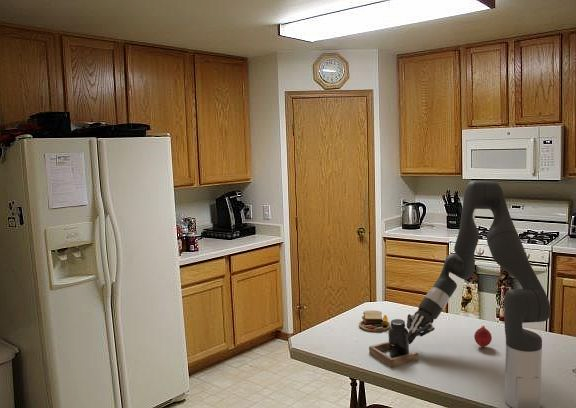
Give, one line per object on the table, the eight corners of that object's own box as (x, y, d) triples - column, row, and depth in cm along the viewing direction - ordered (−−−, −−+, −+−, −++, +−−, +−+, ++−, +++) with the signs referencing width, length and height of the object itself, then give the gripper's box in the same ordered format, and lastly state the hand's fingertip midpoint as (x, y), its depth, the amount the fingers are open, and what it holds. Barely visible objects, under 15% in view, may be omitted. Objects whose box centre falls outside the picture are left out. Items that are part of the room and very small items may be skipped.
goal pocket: (394, 346, 191) (394, 340, 191) (417, 359, 179) (417, 352, 179) (369, 353, 186) (369, 346, 186) (391, 367, 175) (391, 359, 174)
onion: (492, 351, 184) (493, 329, 183) (475, 350, 185) (475, 328, 184) (490, 344, 189) (490, 323, 188) (473, 343, 191) (473, 322, 190)
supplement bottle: (386, 356, 183) (384, 324, 181) (393, 348, 189) (390, 316, 187) (406, 359, 179) (404, 326, 178) (411, 351, 185) (409, 318, 183)
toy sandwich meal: (358, 332, 207) (357, 320, 206) (360, 320, 220) (359, 309, 219) (390, 333, 204) (390, 321, 203) (390, 321, 217) (390, 310, 217)
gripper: (416, 292, 193) (389, 330, 189) (440, 301, 181) (412, 343, 177) (427, 303, 196) (401, 341, 192) (452, 313, 184) (425, 354, 180)
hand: (406, 342), depth 185 cm, fingers closed
